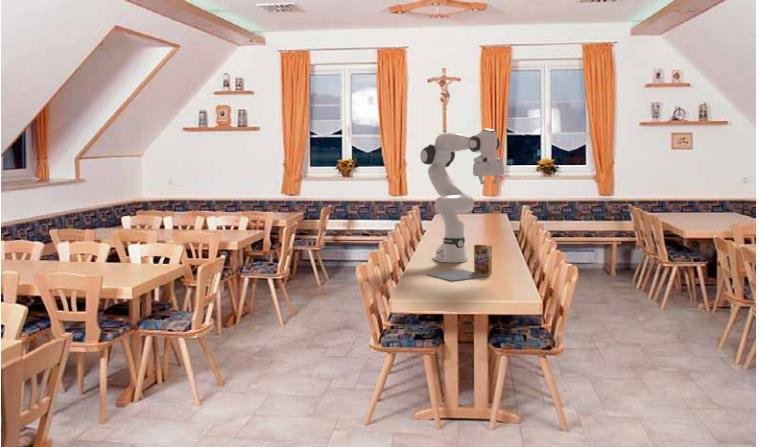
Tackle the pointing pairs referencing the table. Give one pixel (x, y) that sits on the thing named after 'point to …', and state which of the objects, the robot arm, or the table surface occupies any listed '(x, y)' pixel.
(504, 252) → the table surface
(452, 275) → the mat
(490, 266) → the candy box
